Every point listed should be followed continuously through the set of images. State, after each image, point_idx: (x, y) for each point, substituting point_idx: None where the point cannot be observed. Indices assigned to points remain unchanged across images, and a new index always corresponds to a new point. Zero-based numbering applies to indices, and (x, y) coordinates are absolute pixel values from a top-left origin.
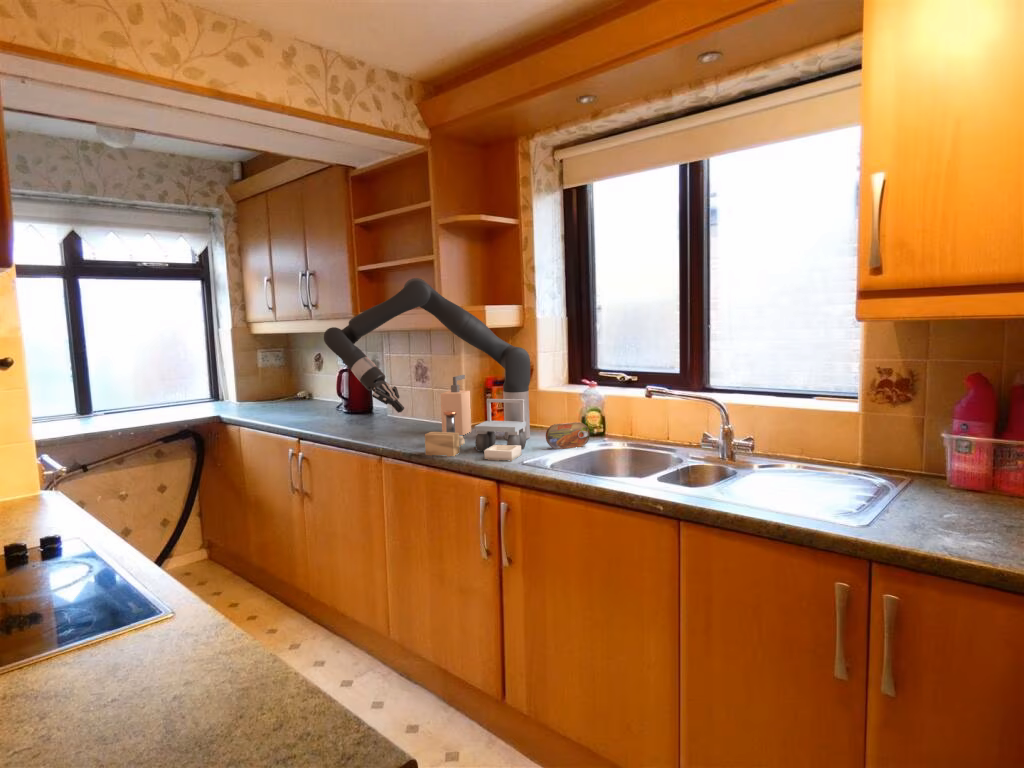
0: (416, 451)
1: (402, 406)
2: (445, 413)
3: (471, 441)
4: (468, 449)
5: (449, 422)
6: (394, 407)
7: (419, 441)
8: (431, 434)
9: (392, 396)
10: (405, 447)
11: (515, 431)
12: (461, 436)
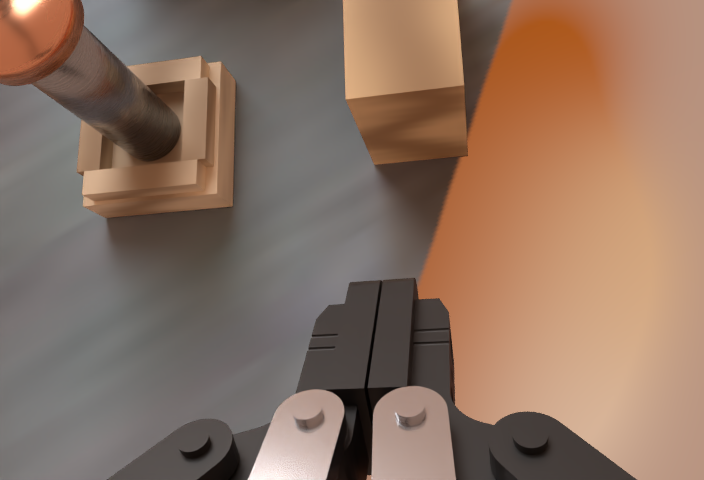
0: None
1: (366, 294)
2: (66, 31)
3: (27, 104)
4: (246, 2)
5: (105, 54)
6: (454, 390)
7: (56, 454)
8: (457, 29)
9: (378, 468)
10: None
11: None
12: None
